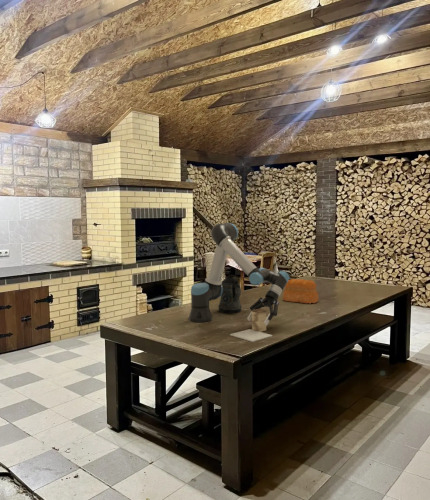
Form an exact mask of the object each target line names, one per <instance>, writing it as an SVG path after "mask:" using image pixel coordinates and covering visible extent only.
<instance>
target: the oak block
mask: <svg viewBox="0 0 430 500" xmlns="http://www.w3.org/2000/svg"><path fill="white" fill-rule="evenodd" d="M266 318H267V310H266V309H261V308H260V309H256V310H255V309H254V310H252V319H251V330H255V331H259V332H262V333H263V332H265V331H267V326H266V325H265V324H264V321H265V320H266Z"/></svg>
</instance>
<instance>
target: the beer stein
mask: <svg viewBox="0 0 430 500" xmlns="http://www.w3.org/2000/svg"><path fill="white" fill-rule="evenodd" d="M221 282H222V285H221V286H222V288H223V292H222V294H221V296H220V300H219V304H218V311H219V313H222V314H238V313H241V311H242V304H241V300H240V297H241V294H242V289H241V288H242V287H241V286H240V284H239V281H238V279H236V278H235V277H234V276H233V275H227V277H225V279H223V280H221Z"/></svg>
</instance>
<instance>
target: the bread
mask: <svg viewBox="0 0 430 500" xmlns="http://www.w3.org/2000/svg"><path fill="white" fill-rule="evenodd" d="M283 290H284V291H283V294H282V300H283V301H285V302H292V303H301V304H308V303H309V305H311V303H313V304H316V303H318V302H319V299H320V298H319V292H318V291H317V284H316V282H315V280H310V279H309V280H308V279H302V278H300V279H298V278H297V279H295V278H292V279H289V280H288V282H287V284H286V286H285V287H284V289H283Z"/></svg>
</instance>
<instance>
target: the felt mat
mask: <svg viewBox="0 0 430 500" xmlns="http://www.w3.org/2000/svg"><path fill="white" fill-rule="evenodd" d="M229 336H231V337H235V338H238V339H242V340H245V341H248V342H250V343H254V342H257V341H260V340H263V339H269V338H271V337H273V335H272V334H268V333H266V332H263V331H262V332H259V331H255V330H252V328H250V329H249V328H248V329H245V330H241V331H237V332H234V333H230V334H229Z"/></svg>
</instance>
